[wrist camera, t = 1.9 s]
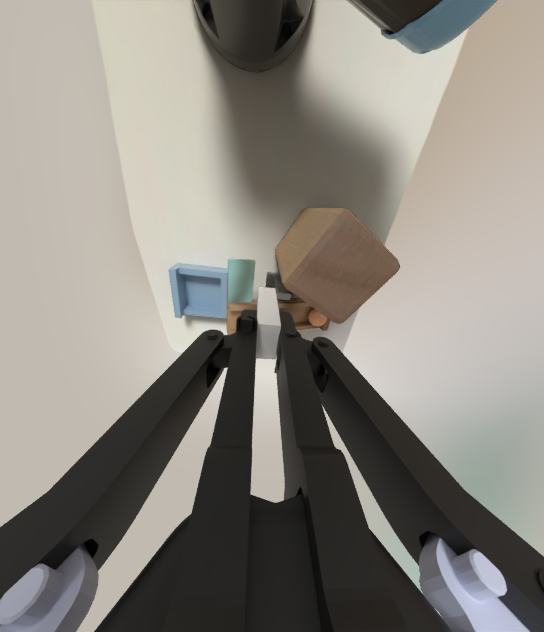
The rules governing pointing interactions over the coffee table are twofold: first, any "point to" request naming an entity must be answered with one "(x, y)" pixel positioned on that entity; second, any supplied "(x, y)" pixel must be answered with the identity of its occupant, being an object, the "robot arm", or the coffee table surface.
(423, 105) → the coffee table surface
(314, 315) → the ball
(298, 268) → the wooden block
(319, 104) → the coffee table surface
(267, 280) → the fulcrum
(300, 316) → the lever
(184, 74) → the coffee table surface
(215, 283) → the blue square tray
